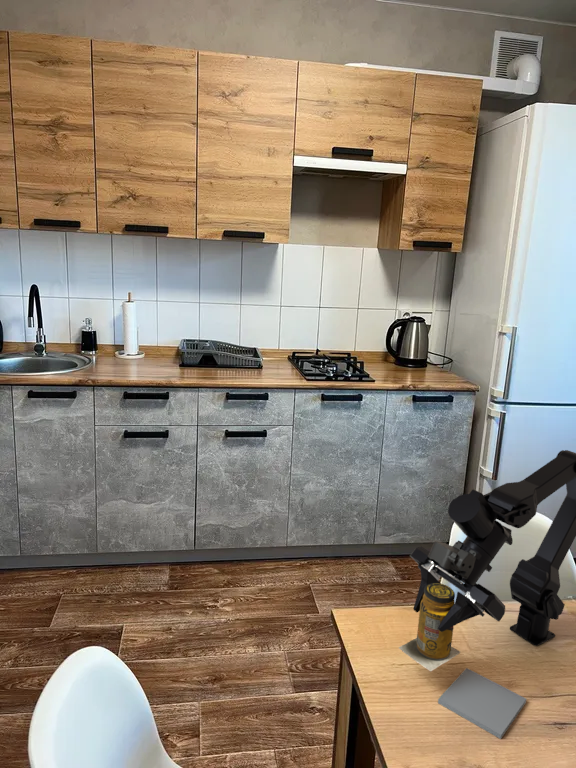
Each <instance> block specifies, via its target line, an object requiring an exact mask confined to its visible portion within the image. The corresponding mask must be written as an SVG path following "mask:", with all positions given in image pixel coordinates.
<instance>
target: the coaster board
mask: <svg viewBox="0 0 576 768" xmlns="http://www.w3.org/2000/svg"><path fill="white" fill-rule="evenodd" d="M437 703H438V705H441V706H442V707H444V708H445V709H447V710H449V711H451V712H452V713H454V714H456V715H458V716H460V717H462V718H463V719H464V720H467V721H469V722H470V723H472V724H474V725H475V726H477V727H479V728H480V729H483V730H484V731H486V732H487V733H489V734H491V735H492V736H495V737H496V738H498V739H500V740H501V739H502V738H503V737H504V735H505V734H506V733H507V731H508V729H509V728H510V727H511V725H512V724H513V722H514V721H515V719H516V718H517V716H518V715H519V714H520V712H521V711H522V709H523V708H524V706H525V705H526V703H527V698H526V697H524V696H523V695H520V694H518V693H516V692H514V691H512V690H510V689H508V688H507V687H505V686H502V685H500V684H499V683H497V682H495V681H494V680H491V679H490V678H487V677H485V676H483V675H482V674H480V673H478V672H475V671H473V670H471V669H469V668H468V667H465V669H464V670H463V671H462V672H461V673H460V674H459V675H458V677H457V678H456V679H455V680H454V681H453V682H452V683H451V685H450V686H449V687H448V688H447V689H446V690H445V691H444V692H443V693H442V694H441V696H440V697H439V698H438V699H437Z"/></svg>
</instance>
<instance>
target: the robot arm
mask: <svg viewBox="0 0 576 768" xmlns="http://www.w3.org/2000/svg"><path fill="white" fill-rule="evenodd" d="M564 486H565V487H566V495H565V497H564V499H563V501H562V502H561V505H560V506H559V509H558V510H557V512H556V514H555V516H554V518H553V521H552V522H551V524H550V526H549V528H548V529H547V532H546V533H545V535H544V538H543V539H542V542H541V543H540V545H539V548H537V551H536V553H535V554H534V556H533V557H530V558H529V559H527V560H525V559H521V560H520V561H518V564H517V567H516V568H515V570H514V571H513V573H512V574H511V577H510V578H509V579H510V580H509V588H510V595H511V599H512V600H514V601H516V602H518V603H519V604H520V606H519V610H518V614H517V620H516V623H514V624H513V625H510V626H509V630H510V631H511V632H513V633H515V634H516V635H518V636H520V637H521V638H522V639H524V640H525V641H526V642H529V643H530V644H532V645H533V646H535V647H538V646H540V645H543V644H544V643H546V642H548V641H550V640H553V639H554V638H555V637H556V634H555V633H553V632H552V631H550V630H549V629H550V623H551V620H559V616H560V615H562V614H563V611H564V608H565V606H566V605H565V603H564V602H563V600H562V599H561V598H560V596H559V595H558V593H559V590H560V588H561V580H560V572H559V570H560V568H561V566H562V564H563V562H564V560H565V558H566V557H567V554H568V552H569V550H570V549H571V546H572V545H573V542H574V541H575V539H576V452H574V451H571V450H568V449H565V450H563V449H562V450H560V451H559V452H558V453H557V455H556V457H554V458H552V460H550V461H549V462H547V463H545V464H544V465H543V466H541V467H540V468H538V469H537V470H536V471H534V472H533V473H531V474H530V475H528V476H526V477H525V478H524V479H522V480H520V481H516V482H506V483H504V484H501V485H499V486H497V487H494V489H492V490H491V491H490V492H488V493H485V494H483V493H482V492H480V491H478V490H475V489H474V488H473V489H471V491H469V493H464V494H461V495H459V496H457V497H456V498H453V499H452V500H451V501H450V503H449V505H448V507H447V508H448V510H447V511H448V516H449V517H450V519H451V520H452V521H453V522H454V523H455V524H456V526H457V527H458V528H459V529H460V531H462V533H463V534H464V535H465V536H466V537H465V539H464V540H463V541H462V540H461V541H460V540H457V541H455V543H454V544H453V545H451V544H448V543H444V542H441V541H438V540H434V541H433V544H432V546H431V548H430V551H429V550H427V549H426V548H425V547H423V546H418V547H416V548H414V550H413V551H412V552H411V553H410V555H409V557H410V558H412V560H413V561H415V562H416V564H417V568H418V569H419V570H420V571H419V572H420V578H421V579H420V583H419V584H420V585H419V588H418V592H417V595H416V599H415V602H414V605H413V611H414V612H415V613H420V604H421V600H422V599H423V595H424V588H425V587H426V586H427V585H428V584H432V583H440V584H442V583H441V582H440V581H439V580H440V579H441V578H442V579H444V580H445V581H446V582H448V583H449V584H451V585H452V586H454V587H455V588H456V589H458V590H460V591H462V592H463V593H464V594H462V593H461V592H460V591H457V594H456V597H455V601H454V605H453V606H452V608H451V609H450V610H449V612H448V613H447V614H446V616H445V617H444V619H443V620H442V621H441V623H440V625H439V627H438V630H439V631H441V632H443V631H445V630H447V629H449V628H451V627H453V628H454V627H455V626H456V625H458V624H460V623H462V622H464V621H467V620H470V619H472V618H474V617H477V616H481V617H484V616H485V615H486V614H487V615H488V616H489V617H491V618H493V619H494V620H496V621H497V622H500V621H501V619H503V617H504V616H505V613H506V605H505V604H504V603H503V602H502V600H501V599H499V597H498V596H497V595H496V594H495V593H494V592H492V591H491V590H489V589H488V588H486V587H485V586H483V585H481V584H480V583H477V582H478V581H479V579H481V577H482V575H483V574H484V572H485V571H486V572H488V573H490V572H491V570H492V569H493V567H492V566H491V565H490V564H491V562H492V561H493V560H494V559H495V557H496V556H497V554H498V553H499V552H500V551H501V548H502V547H503V546H504V544H505V543H506V544H507V545H509V546H512V545H513V536H512V529H511V528H508V527H506V526H504V525H503V524H506V525H507V526H511V527H513V528H516V529H521V528H523V527H525V526H526V525H527V524H528V523H529V522H530V521H531V520H532V519H533V518H534V517H535V516H537V515H536V514H537V512H538V511H537V509H538V505H540V504H541V502H543V501H545V500H546V499H547V498H549V497H550V496H551V495H552V494H554V493H555V492H558V490H559V489H561V488H562V487H564ZM502 523H503V524H502Z"/></svg>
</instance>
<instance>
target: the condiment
mask: <svg viewBox="0 0 576 768" xmlns="http://www.w3.org/2000/svg"><path fill="white" fill-rule="evenodd" d="M440 583H441V582H440ZM440 583H432V584H428V585H427V586H426V587H425V588H424V595H423V599H422V600H421V604H420V611H419V612H418V623H417V633H416V638H414V639H411V640H409V641H407V642H406V643H404V644H402V645H400V646H399V647H398V649H399V650H400V651H402V652H403V653H404V654H405V655H407V656H408V657H409V658H411V659H412V660H413V661H415V662H416V663H418V664H419V665H420V666H422V667H423V668H425V669H426V670H428V671H429V672H432V671H434V670H436V669H438V667H440V666H441V665H443V664H446V663H447V662H449V661H451V660H452V659H454V658H455V657H457V656H458V655H460V654H461V651H460V650H458V649H456V648H454V647H453V646H452V641H453V636H454V626H453V627H451V628H449V629H447V630H445V631H443V632H441V631H439V630H438V627H439V625H440V623H441V621H442V620H443V619H444V617H445V616H446V614H447V613H448V612H449V610H450V609H451V608H452V606H453V605H454V604H455V599H456V597H455V596H456V594H455V593H456V592H455V591H454V589H452V587H450V586H449V585H446V584H443V583H441V584H440Z"/></svg>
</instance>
